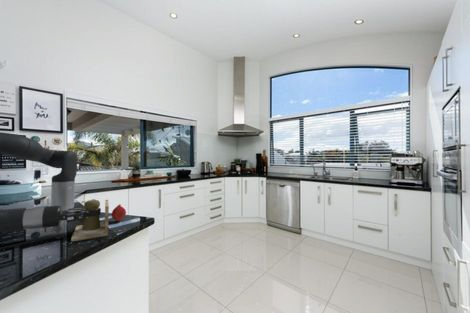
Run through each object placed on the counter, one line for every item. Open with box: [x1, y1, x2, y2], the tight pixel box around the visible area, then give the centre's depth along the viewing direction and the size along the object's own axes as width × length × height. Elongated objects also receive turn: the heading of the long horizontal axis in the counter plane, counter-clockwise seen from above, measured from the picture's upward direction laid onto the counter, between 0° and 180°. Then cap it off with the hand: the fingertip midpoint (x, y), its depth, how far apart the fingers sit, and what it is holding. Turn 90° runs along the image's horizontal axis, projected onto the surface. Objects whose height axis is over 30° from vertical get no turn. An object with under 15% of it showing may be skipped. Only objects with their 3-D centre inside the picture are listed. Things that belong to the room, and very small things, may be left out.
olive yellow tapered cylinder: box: [82, 199, 101, 230], centre depth 81 cm, size 6×6×11 cm
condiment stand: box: [70, 199, 110, 242], centre depth 81 cm, size 16×11×11 cm
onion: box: [111, 204, 127, 222], centre depth 95 cm, size 6×6×8 cm
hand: (100, 211), depth 82 cm, fingers closed on olive yellow tapered cylinder, 3 cm apart
